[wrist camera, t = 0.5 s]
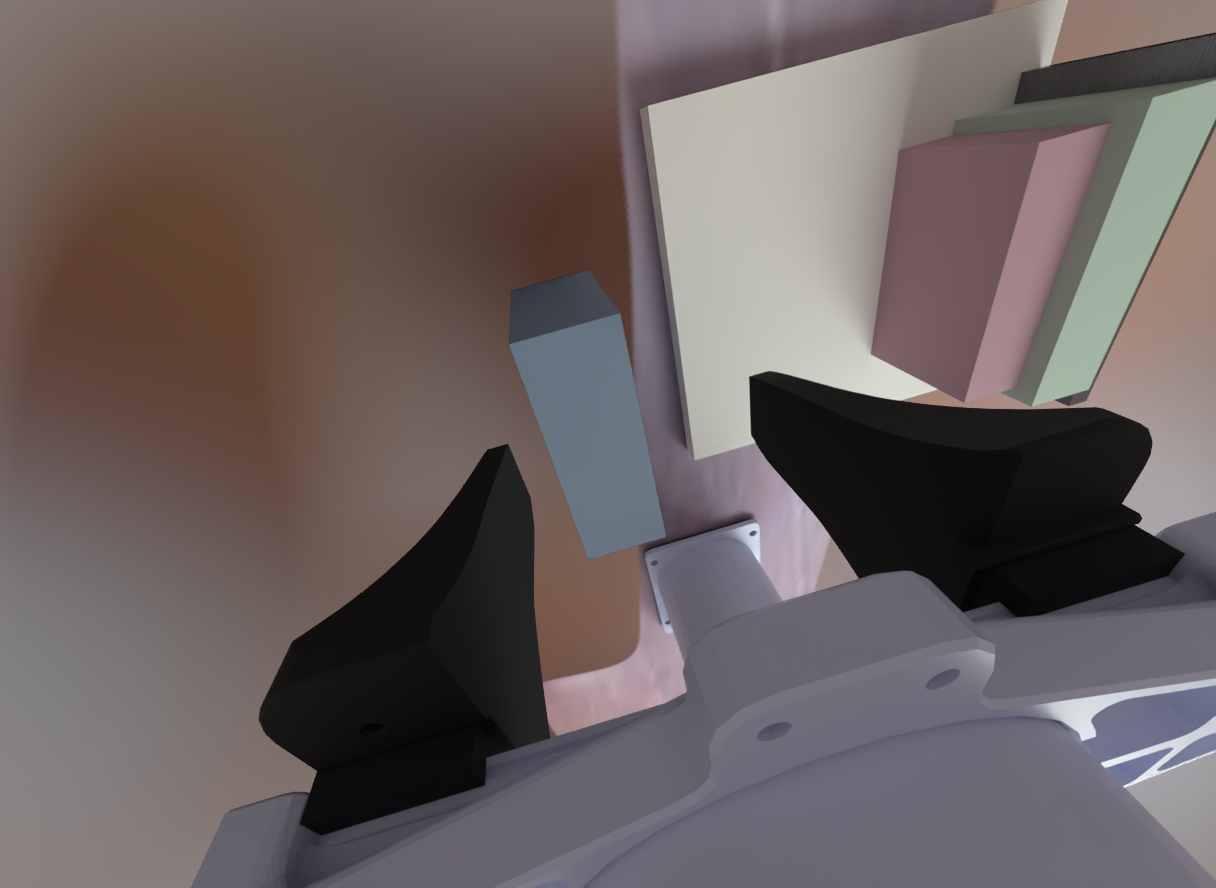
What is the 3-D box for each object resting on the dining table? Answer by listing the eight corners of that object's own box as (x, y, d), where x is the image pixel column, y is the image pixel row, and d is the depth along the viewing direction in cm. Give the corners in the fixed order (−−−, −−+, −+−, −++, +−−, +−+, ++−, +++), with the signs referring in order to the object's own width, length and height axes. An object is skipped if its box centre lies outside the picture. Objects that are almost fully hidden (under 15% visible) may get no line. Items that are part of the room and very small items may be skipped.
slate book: (630, 449, 24) (666, 537, 19) (571, 467, 24) (588, 560, 19) (587, 269, 19) (620, 313, 13) (511, 290, 19) (509, 344, 13)
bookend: (964, 351, 23) (1086, 400, 18) (950, 355, 23) (1068, 406, 18) (1041, 66, 17) (1264, 22, 12) (1021, 72, 17) (1238, 30, 12)
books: (954, 338, 23) (1088, 389, 17) (869, 363, 23) (978, 422, 17) (1013, 104, 17) (1236, 74, 12) (900, 135, 17) (1075, 118, 12)
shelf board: (944, 373, 25) (962, 382, 24) (687, 449, 25) (694, 460, 24) (1036, 3, 17) (1070, -8, 16) (639, 109, 16) (647, 105, 15)
